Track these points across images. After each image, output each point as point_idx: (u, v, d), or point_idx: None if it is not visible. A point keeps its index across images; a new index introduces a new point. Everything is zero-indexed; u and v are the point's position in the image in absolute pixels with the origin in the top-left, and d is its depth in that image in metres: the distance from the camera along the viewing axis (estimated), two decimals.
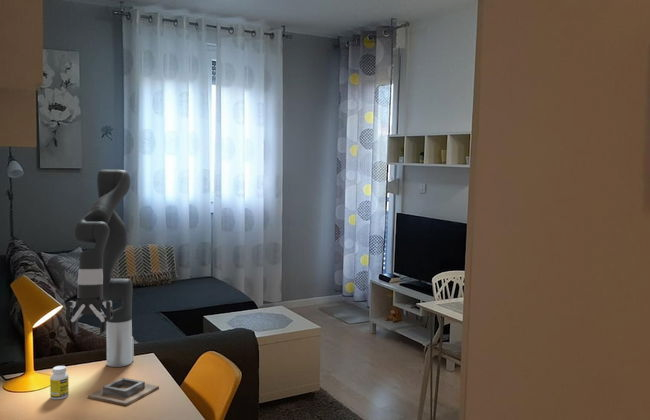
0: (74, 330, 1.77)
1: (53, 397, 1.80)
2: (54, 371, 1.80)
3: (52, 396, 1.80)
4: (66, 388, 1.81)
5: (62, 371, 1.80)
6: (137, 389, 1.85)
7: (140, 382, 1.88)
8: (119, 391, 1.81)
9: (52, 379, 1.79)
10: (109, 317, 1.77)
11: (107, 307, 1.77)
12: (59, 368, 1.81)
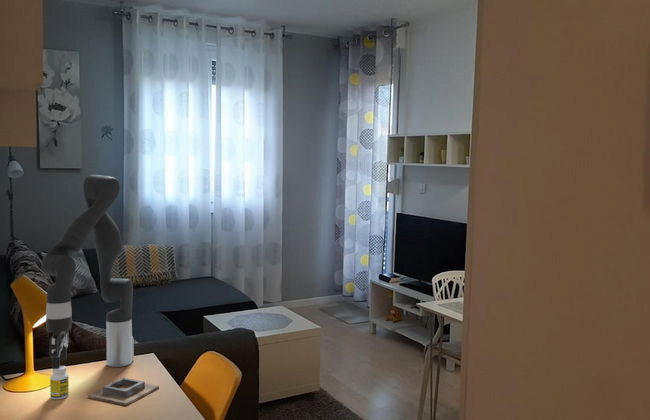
0: None
1: (53, 397, 1.80)
2: (54, 371, 1.80)
3: (52, 396, 1.80)
4: (66, 388, 1.81)
5: (62, 371, 1.80)
6: (137, 389, 1.85)
7: (140, 382, 1.88)
8: (119, 391, 1.81)
9: (52, 379, 1.79)
10: (49, 354, 1.74)
11: None
12: (59, 368, 1.81)
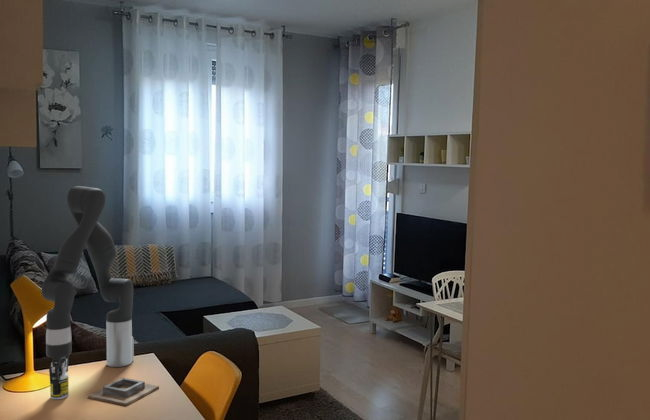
0: None
1: (53, 397, 1.80)
2: None
3: (52, 396, 1.80)
4: (66, 388, 1.81)
5: None
6: (137, 389, 1.85)
7: (140, 382, 1.88)
8: (119, 391, 1.81)
9: None
10: (50, 382, 1.76)
11: None
12: None
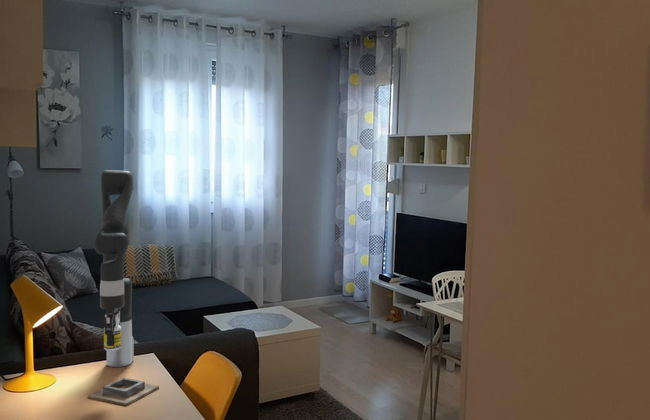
0: None
1: (107, 348, 1.82)
2: None
3: (106, 347, 1.82)
4: (119, 340, 1.84)
5: None
6: (137, 389, 1.85)
7: (140, 382, 1.88)
8: (119, 391, 1.81)
9: None
10: (105, 332, 1.78)
11: None
12: None
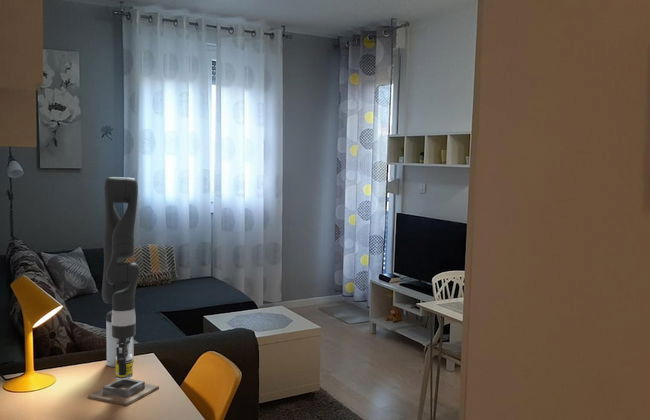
0: None
1: (119, 377, 1.83)
2: None
3: (118, 377, 1.83)
4: (131, 369, 1.85)
5: None
6: (137, 389, 1.85)
7: (140, 382, 1.88)
8: (119, 391, 1.81)
9: None
10: (117, 362, 1.79)
11: None
12: None
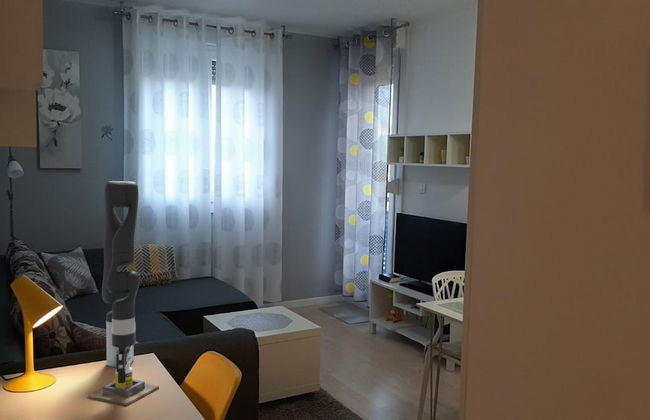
0: None
1: None
2: None
3: None
4: (130, 382, 1.85)
5: (127, 365, 1.84)
6: (137, 389, 1.85)
7: (140, 382, 1.88)
8: (119, 391, 1.81)
9: (117, 373, 1.83)
10: (116, 370, 1.79)
11: None
12: None
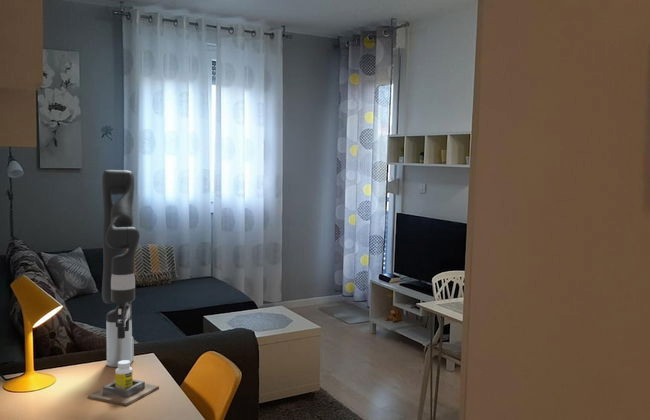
0: None
1: None
2: (119, 365, 1.84)
3: None
4: (130, 382, 1.85)
5: (127, 365, 1.84)
6: (137, 389, 1.85)
7: (140, 382, 1.88)
8: (119, 391, 1.81)
9: (117, 373, 1.83)
10: (116, 324, 1.78)
11: None
12: (124, 362, 1.85)
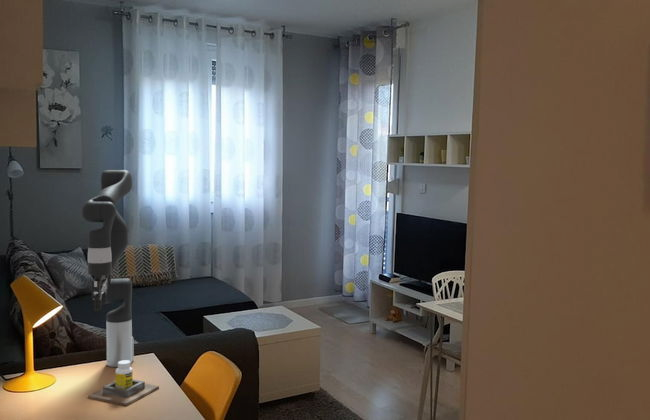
0: None
1: None
2: (119, 365, 1.84)
3: None
4: (131, 382, 1.85)
5: (127, 365, 1.84)
6: (137, 389, 1.85)
7: (140, 382, 1.88)
8: (119, 391, 1.81)
9: (118, 373, 1.83)
10: None
11: None
12: (124, 362, 1.85)
